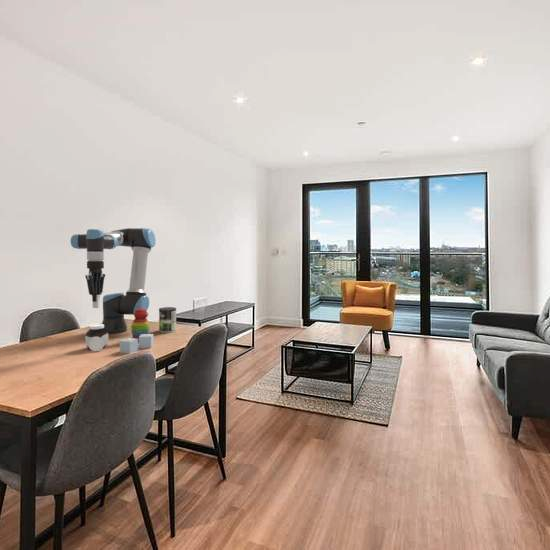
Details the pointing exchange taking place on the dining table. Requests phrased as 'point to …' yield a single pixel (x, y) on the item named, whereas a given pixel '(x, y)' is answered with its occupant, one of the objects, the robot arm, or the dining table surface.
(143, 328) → the stacking bear
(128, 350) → the pip block three
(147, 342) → the pip block two
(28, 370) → the dining table surface
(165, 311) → the coffee can
